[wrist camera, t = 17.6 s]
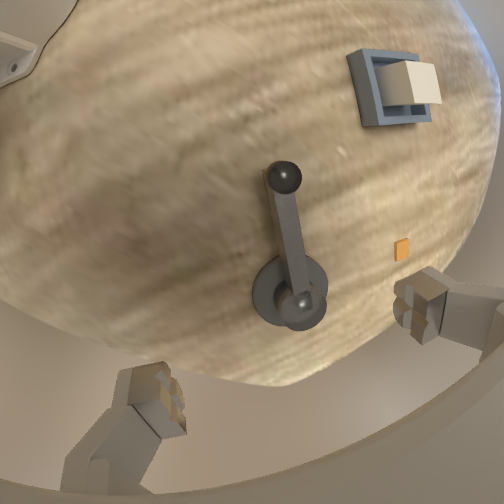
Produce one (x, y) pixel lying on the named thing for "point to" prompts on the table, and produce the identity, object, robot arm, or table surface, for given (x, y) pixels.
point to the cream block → (408, 84)
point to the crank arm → (291, 250)
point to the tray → (368, 90)
